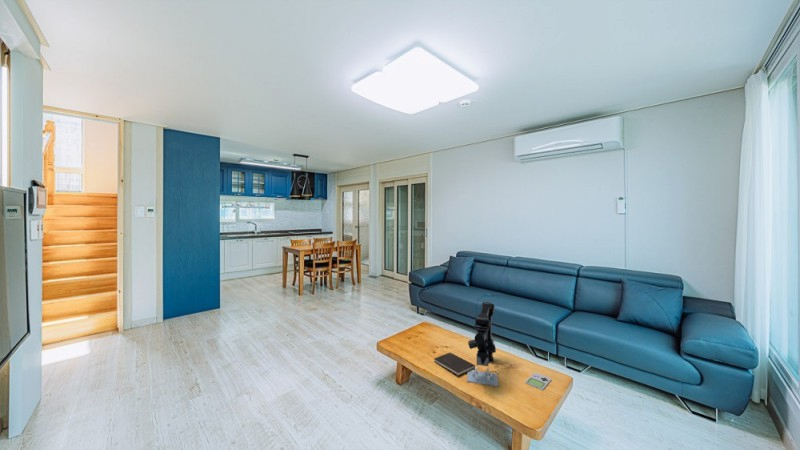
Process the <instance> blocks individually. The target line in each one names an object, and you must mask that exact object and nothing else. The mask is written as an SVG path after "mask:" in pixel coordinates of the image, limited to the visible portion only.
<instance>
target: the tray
mask: <svg viewBox="0 0 800 450" xmlns="http://www.w3.org/2000/svg"><path fill="white" fill-rule="evenodd" d="M466 373H467V376H466V377H467V379H466V383H472V384H480V385H486V386H493V387H499V380H498V374H497V373H493V372H492V371H490V368H486V372H485V371H479V370H478V366H475V369H472V370H470V371H468V372H466Z"/></svg>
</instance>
